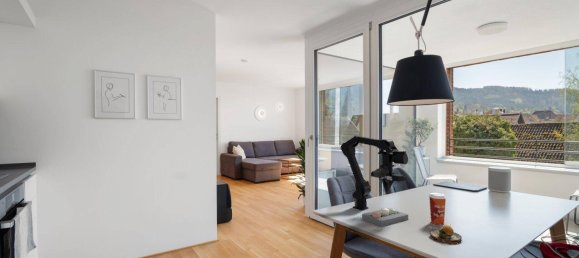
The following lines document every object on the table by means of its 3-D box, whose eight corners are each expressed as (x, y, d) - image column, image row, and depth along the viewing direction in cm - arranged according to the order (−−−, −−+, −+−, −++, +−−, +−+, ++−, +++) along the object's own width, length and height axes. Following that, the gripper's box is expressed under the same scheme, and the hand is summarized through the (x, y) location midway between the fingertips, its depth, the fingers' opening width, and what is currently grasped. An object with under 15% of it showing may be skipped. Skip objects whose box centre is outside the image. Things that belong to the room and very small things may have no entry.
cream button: (379, 215, 145) (379, 208, 145) (384, 214, 147) (384, 207, 147) (385, 217, 141) (385, 210, 141) (390, 216, 143) (390, 209, 143)
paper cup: (437, 226, 133) (436, 196, 133) (425, 221, 141) (425, 192, 141) (450, 224, 135) (450, 195, 135) (438, 219, 143) (438, 191, 143)
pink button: (370, 219, 142) (370, 212, 142) (376, 218, 144) (376, 211, 144) (376, 222, 138) (376, 215, 138) (382, 220, 140) (382, 213, 140)
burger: (452, 233, 125) (452, 216, 125) (468, 244, 113) (468, 226, 113) (424, 233, 125) (424, 216, 125) (437, 244, 114) (437, 226, 114)
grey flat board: (362, 218, 145) (361, 213, 145) (387, 212, 154) (387, 208, 154) (381, 226, 134) (381, 221, 134) (408, 219, 143) (408, 214, 143)
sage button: (387, 215, 148) (387, 209, 148) (392, 214, 150) (392, 207, 150) (393, 217, 144) (393, 211, 144) (398, 216, 146) (398, 209, 146)
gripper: (363, 162, 156) (363, 190, 156) (390, 166, 140) (391, 197, 140) (377, 160, 161) (377, 187, 162) (405, 164, 145) (405, 194, 145)
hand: (387, 191), depth 152 cm, fingers closed
